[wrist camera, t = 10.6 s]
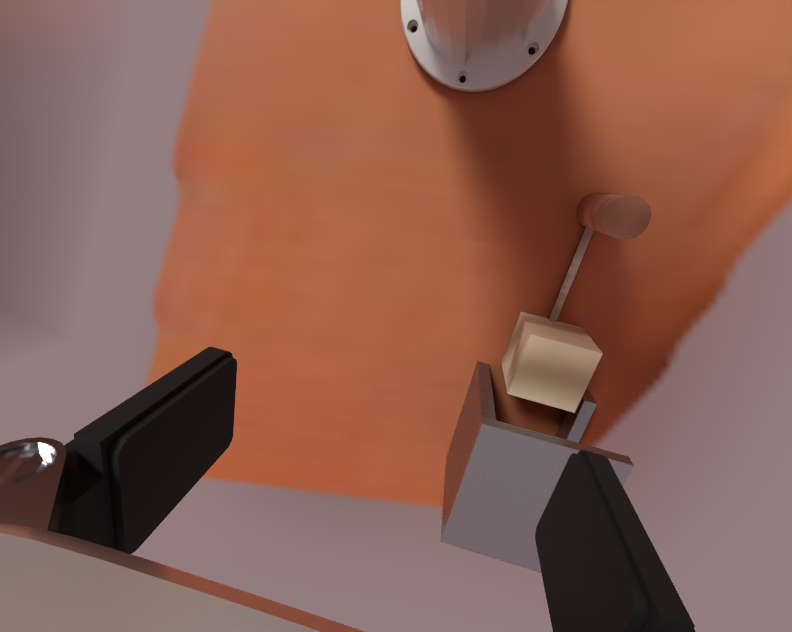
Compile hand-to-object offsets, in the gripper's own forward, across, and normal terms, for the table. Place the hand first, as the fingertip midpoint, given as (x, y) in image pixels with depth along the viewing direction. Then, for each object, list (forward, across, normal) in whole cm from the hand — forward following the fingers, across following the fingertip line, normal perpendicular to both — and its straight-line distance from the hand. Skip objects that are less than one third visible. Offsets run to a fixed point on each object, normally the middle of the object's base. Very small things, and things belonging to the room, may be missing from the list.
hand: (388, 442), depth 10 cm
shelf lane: (+28, -12, +16) cm, 35 cm away
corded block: (+28, -12, +1) cm, 31 cm away
